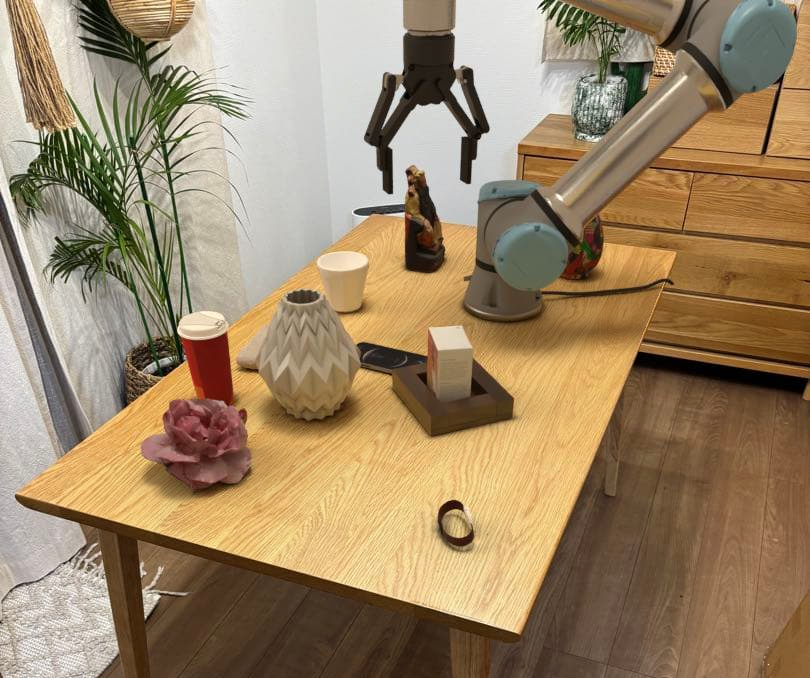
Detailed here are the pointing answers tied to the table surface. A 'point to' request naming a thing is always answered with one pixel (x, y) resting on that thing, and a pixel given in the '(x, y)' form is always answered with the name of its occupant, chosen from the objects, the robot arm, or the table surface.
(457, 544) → the watch
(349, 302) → the cup
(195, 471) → the flower
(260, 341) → the washcloth
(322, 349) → the vase
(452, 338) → the small box
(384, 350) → the smartphone
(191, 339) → the paper cup
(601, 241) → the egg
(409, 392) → the square wooden frame
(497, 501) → the table surface
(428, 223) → the statue
